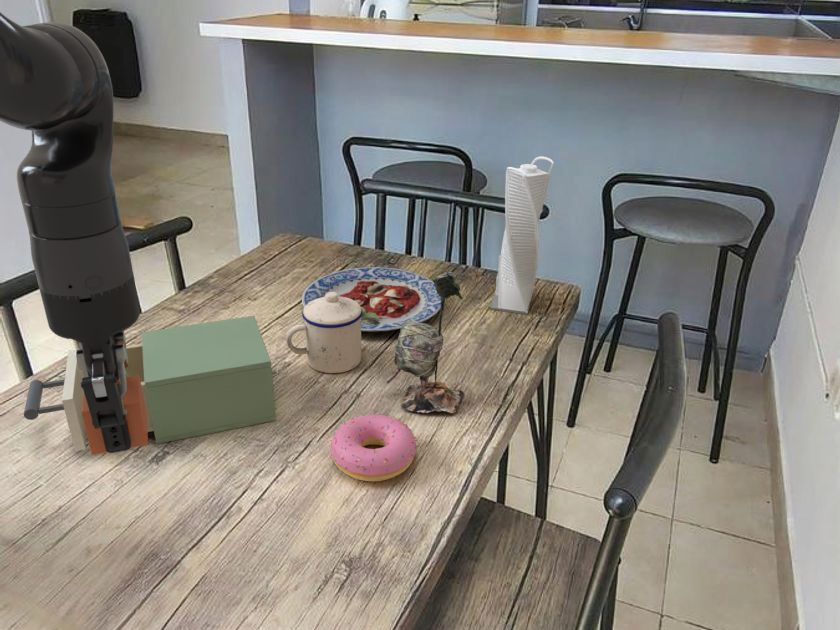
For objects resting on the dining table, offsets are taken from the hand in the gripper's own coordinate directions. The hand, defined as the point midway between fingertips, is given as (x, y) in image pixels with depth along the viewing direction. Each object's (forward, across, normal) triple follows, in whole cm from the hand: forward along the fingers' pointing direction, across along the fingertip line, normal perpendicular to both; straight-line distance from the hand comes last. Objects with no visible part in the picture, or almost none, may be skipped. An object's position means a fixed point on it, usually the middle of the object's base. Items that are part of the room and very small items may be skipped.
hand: (119, 431), depth 67 cm
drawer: (+14, -24, -3) cm, 28 cm away
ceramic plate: (+15, -47, +40) cm, 63 cm away
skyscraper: (+15, -39, +65) cm, 77 cm away
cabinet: (+15, -24, +10) cm, 30 cm away
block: (0, 0, 0) cm, 0 cm away
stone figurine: (+15, -16, +39) cm, 44 cm away
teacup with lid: (+15, -30, +27) cm, 44 cm away
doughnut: (+15, -6, +28) cm, 32 cm away
